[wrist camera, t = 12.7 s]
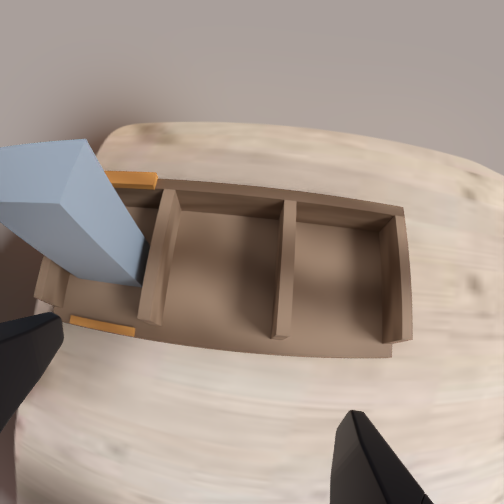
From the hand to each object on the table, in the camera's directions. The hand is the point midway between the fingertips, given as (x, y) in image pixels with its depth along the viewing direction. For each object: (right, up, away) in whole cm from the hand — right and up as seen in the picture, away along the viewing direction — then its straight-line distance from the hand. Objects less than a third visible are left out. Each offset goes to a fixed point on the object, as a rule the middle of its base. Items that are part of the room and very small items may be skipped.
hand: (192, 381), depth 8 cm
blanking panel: (-8, +3, +13) cm, 16 cm away
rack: (0, +2, +15) cm, 15 cm away
